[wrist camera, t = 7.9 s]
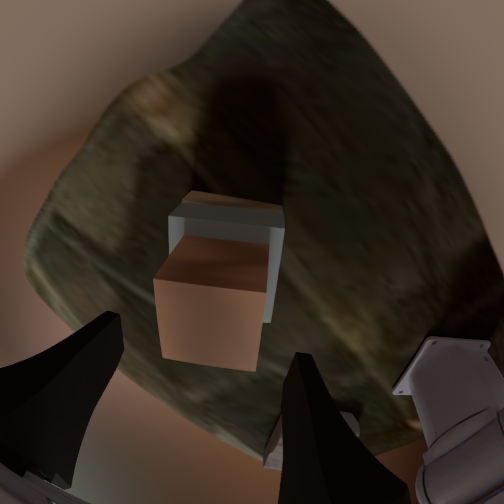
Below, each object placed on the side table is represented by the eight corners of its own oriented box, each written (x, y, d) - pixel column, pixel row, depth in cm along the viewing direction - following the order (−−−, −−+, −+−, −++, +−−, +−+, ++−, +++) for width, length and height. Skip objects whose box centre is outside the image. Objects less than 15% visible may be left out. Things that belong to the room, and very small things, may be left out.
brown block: (282, 204, 20) (282, 216, 17) (266, 281, 22) (264, 301, 20) (193, 189, 20) (182, 199, 17) (186, 267, 22) (177, 284, 20)
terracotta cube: (269, 244, 16) (266, 292, 11) (260, 314, 17) (255, 371, 13) (183, 235, 16) (153, 278, 12) (185, 305, 18) (162, 357, 14)
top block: (284, 212, 17) (285, 228, 15) (271, 299, 20) (270, 322, 18) (182, 202, 18) (168, 215, 15) (183, 287, 20) (172, 309, 18)
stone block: (359, 397, 30) (275, 405, 28) (372, 431, 26) (283, 445, 24) (326, 441, 36) (257, 449, 34) (334, 469, 31) (262, 479, 30)
